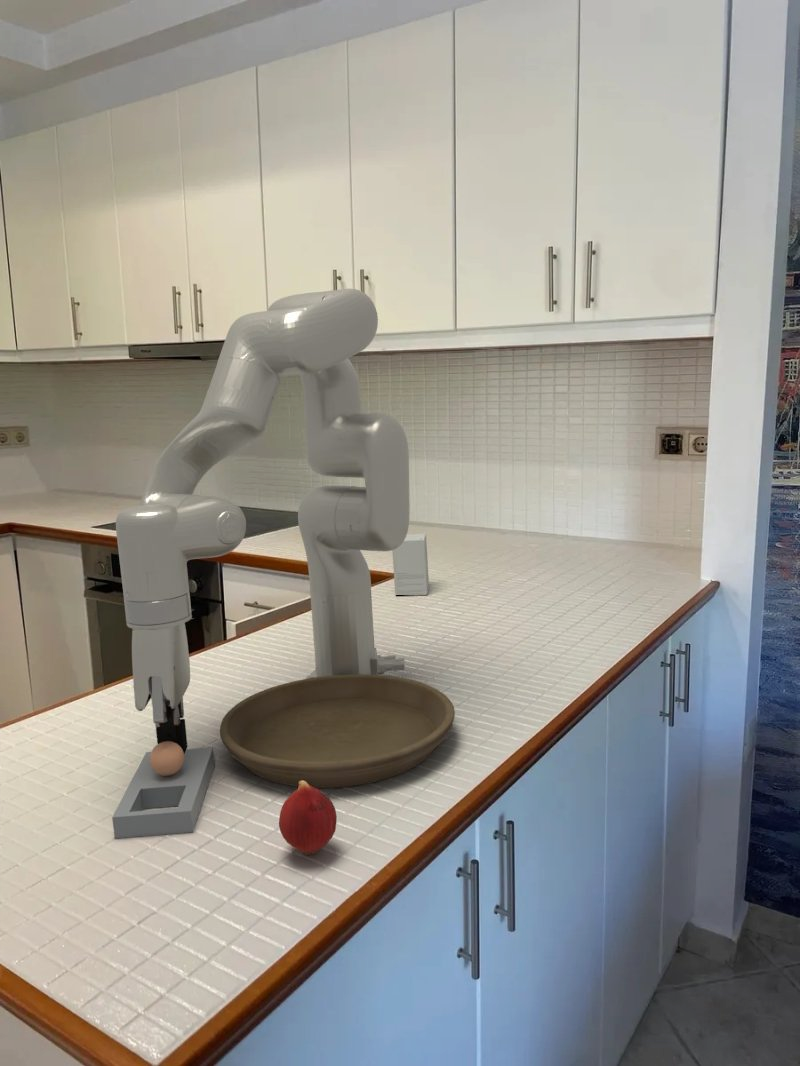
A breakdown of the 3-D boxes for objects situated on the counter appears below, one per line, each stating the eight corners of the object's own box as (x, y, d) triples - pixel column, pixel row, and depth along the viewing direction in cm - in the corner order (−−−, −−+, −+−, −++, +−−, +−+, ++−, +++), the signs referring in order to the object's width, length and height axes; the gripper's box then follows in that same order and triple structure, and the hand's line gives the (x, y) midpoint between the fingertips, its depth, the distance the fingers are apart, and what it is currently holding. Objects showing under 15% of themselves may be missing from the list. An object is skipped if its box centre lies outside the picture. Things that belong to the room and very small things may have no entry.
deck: (215, 765, 106) (213, 747, 106) (193, 832, 91) (190, 811, 90) (148, 770, 106) (146, 752, 106) (114, 838, 90) (112, 817, 90)
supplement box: (429, 587, 190) (427, 533, 188) (427, 595, 183) (425, 539, 180) (397, 588, 191) (394, 534, 189) (394, 596, 184) (391, 540, 181)
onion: (339, 836, 89) (334, 766, 87) (337, 867, 83) (332, 793, 81) (285, 839, 88) (279, 769, 87) (279, 871, 83) (272, 797, 81)
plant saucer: (336, 684, 133) (334, 657, 132) (500, 728, 114) (499, 697, 113) (173, 758, 110) (170, 725, 109) (345, 829, 90) (343, 790, 89)
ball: (188, 759, 102) (184, 733, 100) (183, 781, 98) (178, 754, 96) (155, 762, 101) (150, 735, 100) (149, 784, 98) (143, 757, 96)
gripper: (141, 595, 106) (156, 730, 110) (108, 629, 92) (126, 783, 95) (201, 591, 107) (213, 726, 110) (177, 625, 92) (193, 779, 95)
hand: (173, 752), depth 103 cm, fingers closed
